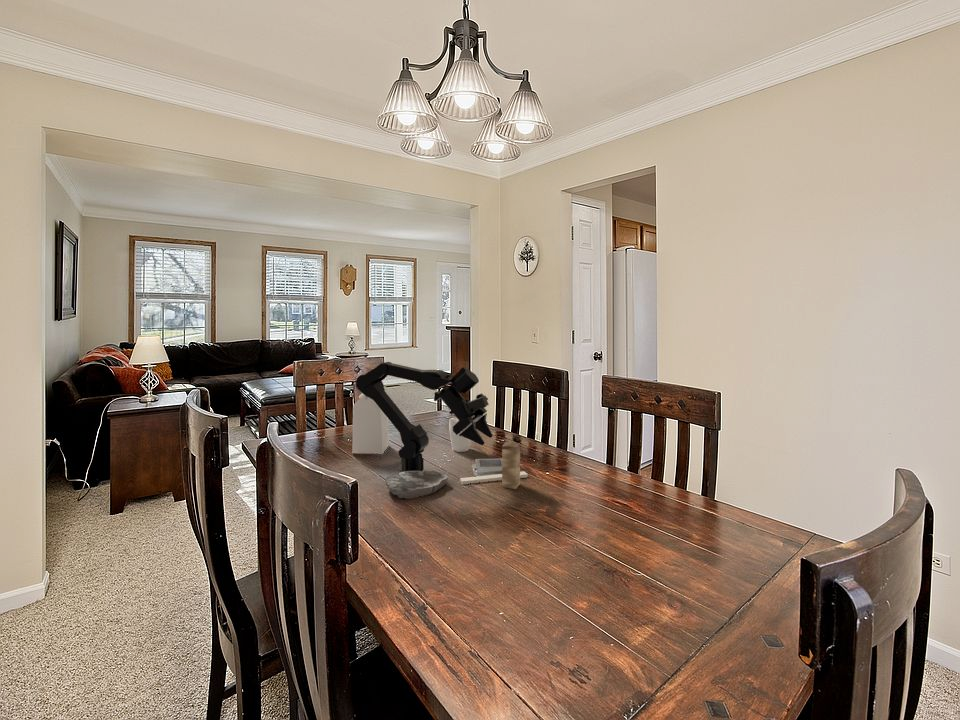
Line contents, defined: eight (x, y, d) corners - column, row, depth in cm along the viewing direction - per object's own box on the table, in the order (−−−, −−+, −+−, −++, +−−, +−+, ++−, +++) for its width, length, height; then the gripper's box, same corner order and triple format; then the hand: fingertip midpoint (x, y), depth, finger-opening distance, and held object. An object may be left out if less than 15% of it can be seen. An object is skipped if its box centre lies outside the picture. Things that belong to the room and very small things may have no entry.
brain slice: (417, 475, 163) (417, 466, 162) (455, 486, 152) (455, 477, 152) (370, 492, 147) (369, 482, 147) (408, 506, 137) (408, 495, 136)
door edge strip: (462, 484, 153) (462, 481, 153) (459, 481, 156) (459, 478, 156) (527, 477, 159) (527, 474, 159) (524, 474, 162) (524, 471, 162)
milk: (382, 455, 184) (381, 386, 181) (352, 454, 184) (350, 386, 182) (389, 446, 196) (387, 381, 193) (360, 445, 196) (358, 381, 194)
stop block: (501, 487, 151) (501, 445, 149) (506, 482, 155) (506, 441, 154) (516, 488, 149) (516, 447, 148) (520, 483, 153) (520, 443, 152)
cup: (462, 454, 185) (462, 423, 183) (444, 450, 190) (444, 419, 189) (476, 448, 192) (476, 418, 190) (459, 445, 197) (459, 415, 196)
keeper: (474, 476, 160) (474, 468, 160) (472, 465, 171) (472, 458, 171) (510, 475, 161) (510, 467, 161) (506, 465, 172) (506, 457, 172)
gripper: (464, 391, 145) (498, 432, 143) (482, 382, 163) (512, 418, 161) (438, 414, 148) (471, 454, 146) (458, 403, 166) (488, 439, 164)
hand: (487, 440), depth 154 cm, fingers open, 9 cm apart
